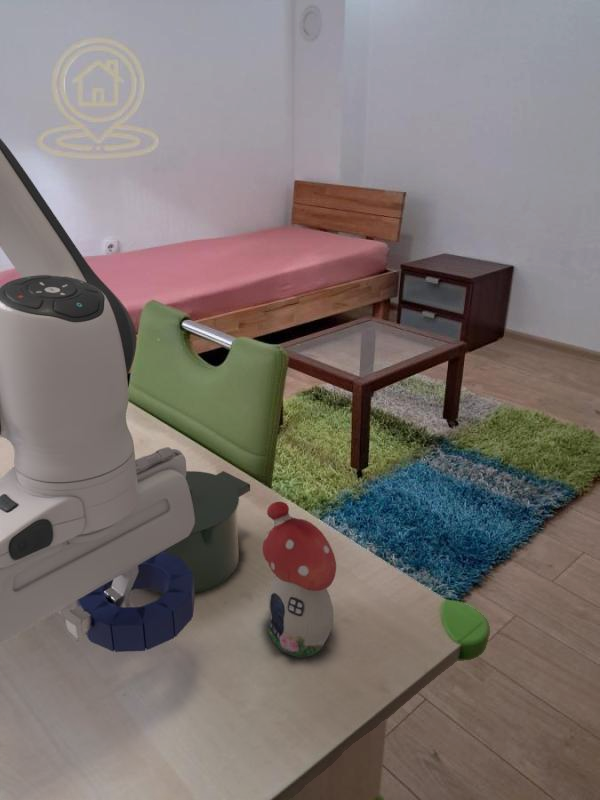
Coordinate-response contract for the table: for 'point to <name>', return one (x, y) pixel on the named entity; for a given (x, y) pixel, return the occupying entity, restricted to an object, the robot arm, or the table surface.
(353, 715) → the table surface
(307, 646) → the decorative ornament
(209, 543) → the pot
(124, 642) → the tape roll
